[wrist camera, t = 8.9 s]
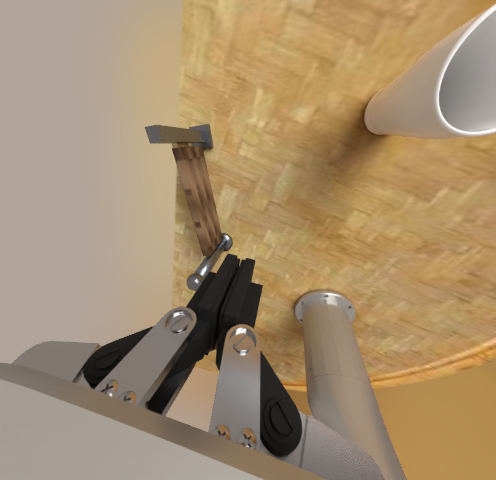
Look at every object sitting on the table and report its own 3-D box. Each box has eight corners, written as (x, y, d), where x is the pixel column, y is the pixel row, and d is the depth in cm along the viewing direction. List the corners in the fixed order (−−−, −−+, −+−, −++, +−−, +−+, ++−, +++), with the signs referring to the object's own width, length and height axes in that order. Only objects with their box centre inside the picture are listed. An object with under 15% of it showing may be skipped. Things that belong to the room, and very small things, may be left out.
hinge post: (234, 249, 38) (207, 298, 26) (216, 249, 39) (183, 296, 27) (231, 232, 36) (200, 277, 24) (213, 233, 37) (175, 276, 25)
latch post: (215, 156, 30) (175, 163, 20) (197, 158, 31) (150, 166, 20) (209, 124, 28) (161, 113, 18) (190, 127, 29) (134, 119, 18)
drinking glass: (345, 125, 24) (405, 105, 12) (386, 64, 21) (538, -63, 8) (385, 150, 25) (488, 158, 12) (433, 94, 21) (650, 19, 8)
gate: (222, 238, 36) (209, 255, 30) (217, 238, 36) (203, 256, 30) (202, 146, 28) (179, 147, 23) (195, 147, 28) (171, 148, 23)
